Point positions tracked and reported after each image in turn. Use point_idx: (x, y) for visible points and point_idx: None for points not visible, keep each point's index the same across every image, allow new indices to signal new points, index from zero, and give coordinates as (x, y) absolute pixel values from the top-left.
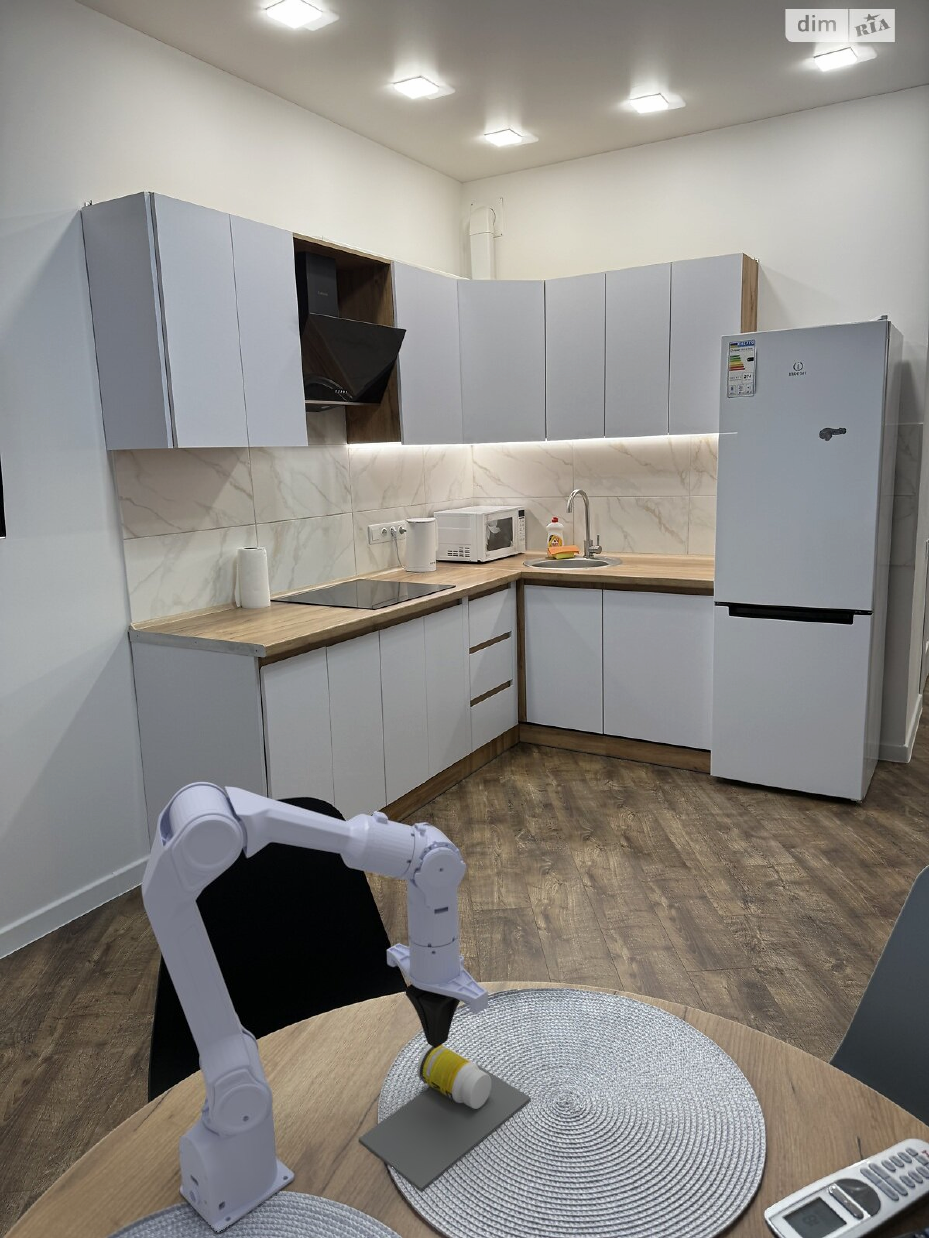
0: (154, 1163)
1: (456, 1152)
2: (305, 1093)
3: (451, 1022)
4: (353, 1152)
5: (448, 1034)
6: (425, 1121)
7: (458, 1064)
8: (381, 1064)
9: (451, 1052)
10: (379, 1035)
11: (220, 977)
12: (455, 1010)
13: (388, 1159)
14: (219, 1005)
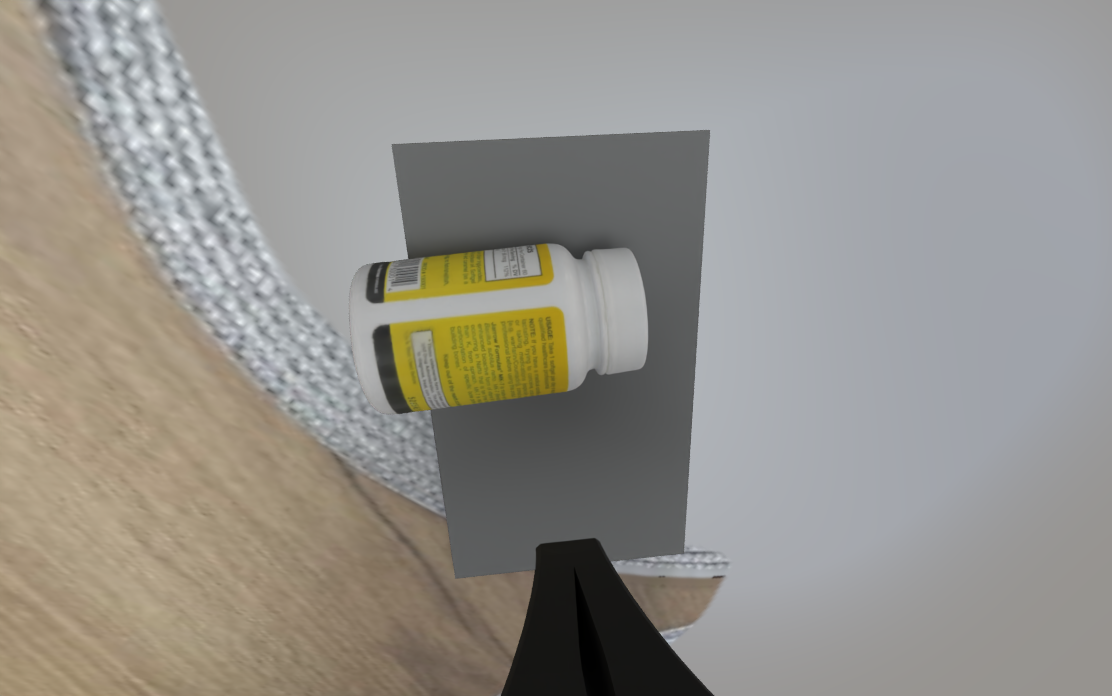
0: None
1: (674, 441)
2: (199, 589)
3: (639, 606)
4: (477, 592)
5: (606, 555)
6: (531, 436)
7: (546, 361)
8: (207, 380)
9: (463, 330)
10: (33, 294)
11: None
12: (701, 683)
13: None
14: None
